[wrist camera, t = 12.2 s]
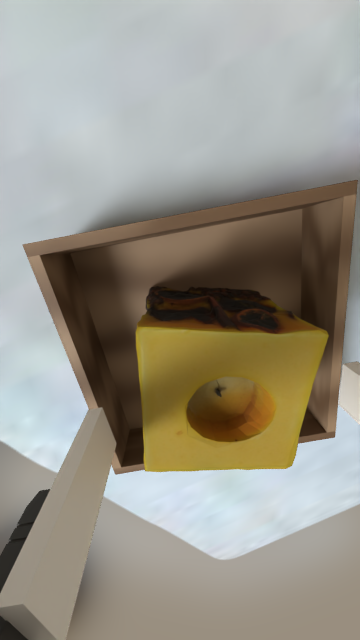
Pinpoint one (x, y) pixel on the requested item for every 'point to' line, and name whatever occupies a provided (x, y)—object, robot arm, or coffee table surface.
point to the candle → (223, 379)
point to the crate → (197, 271)
